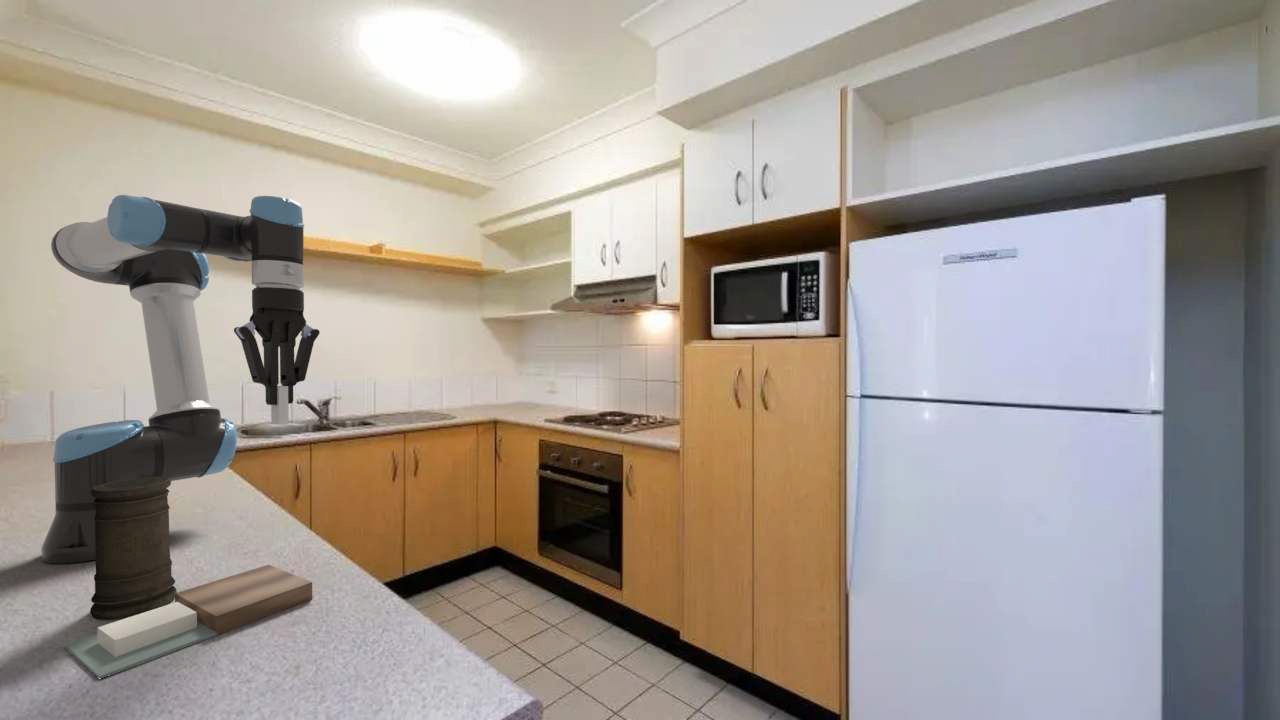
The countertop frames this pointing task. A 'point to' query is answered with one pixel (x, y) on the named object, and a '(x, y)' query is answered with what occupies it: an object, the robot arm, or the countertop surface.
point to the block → (146, 628)
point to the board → (245, 597)
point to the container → (132, 548)
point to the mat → (108, 664)
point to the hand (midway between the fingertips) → (279, 423)
